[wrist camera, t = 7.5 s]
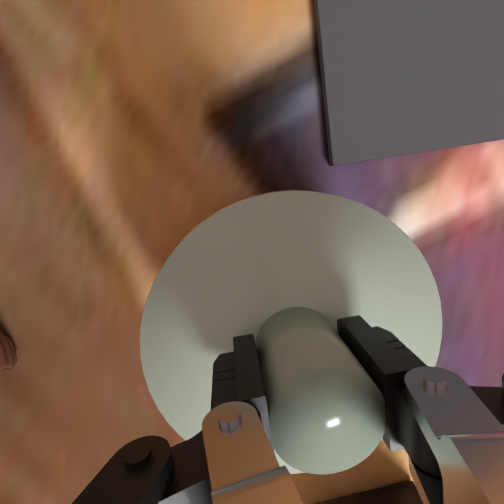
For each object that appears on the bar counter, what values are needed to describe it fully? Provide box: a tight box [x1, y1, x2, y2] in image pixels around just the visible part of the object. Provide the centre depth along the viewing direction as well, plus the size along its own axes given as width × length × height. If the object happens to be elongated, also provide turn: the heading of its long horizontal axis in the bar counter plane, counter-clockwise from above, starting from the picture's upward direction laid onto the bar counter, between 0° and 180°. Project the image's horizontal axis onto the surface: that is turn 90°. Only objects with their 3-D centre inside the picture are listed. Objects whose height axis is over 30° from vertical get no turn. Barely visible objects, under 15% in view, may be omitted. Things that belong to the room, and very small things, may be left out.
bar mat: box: [314, 0, 504, 166], centre depth 16 cm, size 14×10×1 cm
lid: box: [140, 190, 442, 475], centre depth 11 cm, size 11×11×5 cm
